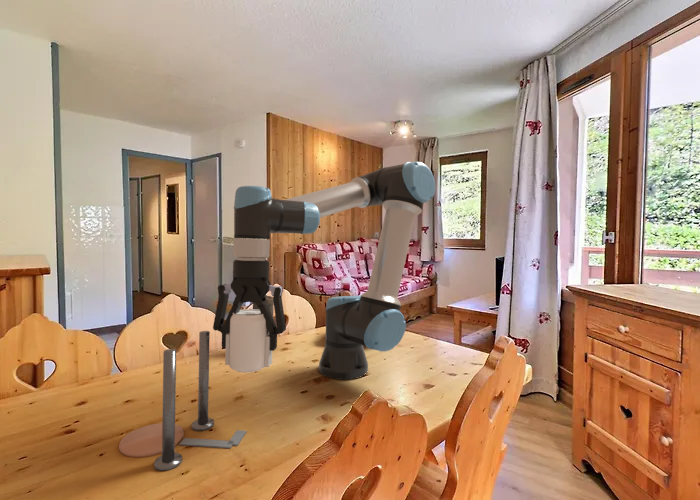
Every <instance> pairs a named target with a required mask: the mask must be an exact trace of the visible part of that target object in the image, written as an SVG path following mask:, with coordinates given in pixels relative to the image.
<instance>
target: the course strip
mask: <svg viewBox="0 0 700 500" xmlns="http://www.w3.org/2000/svg"><path fill="white" fill-rule="evenodd" d="M246 434H247V430H241V429H239V430H238V429H237V430H236V431H235V432H234V434H233V435H232V436H231V438H230V439H229V440H221V439H207V438H192V437H191V438H190V437H183V438H182V440H181V441H180V442H179V443H178V445H179V446H187V447H188V446H189V447H200V448H201V447H202V448H204V447H205V448H216V449H218V448H219V449H231V448H232V446H233V447H234V446H235V447H238V446H239V445H240V443H241V441H242V440H243V438H244V436H246Z"/></svg>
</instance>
